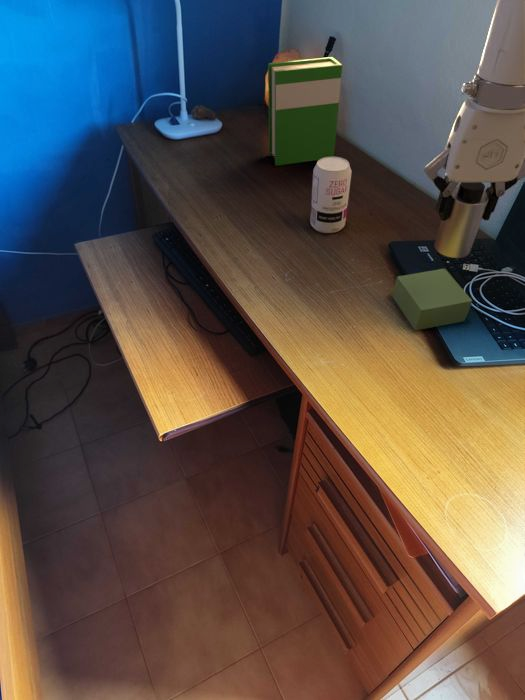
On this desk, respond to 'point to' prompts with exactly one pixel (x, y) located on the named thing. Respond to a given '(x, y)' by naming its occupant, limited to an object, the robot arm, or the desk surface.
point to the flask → (462, 220)
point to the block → (431, 299)
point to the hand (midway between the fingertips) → (462, 215)
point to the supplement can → (330, 194)
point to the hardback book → (303, 109)
